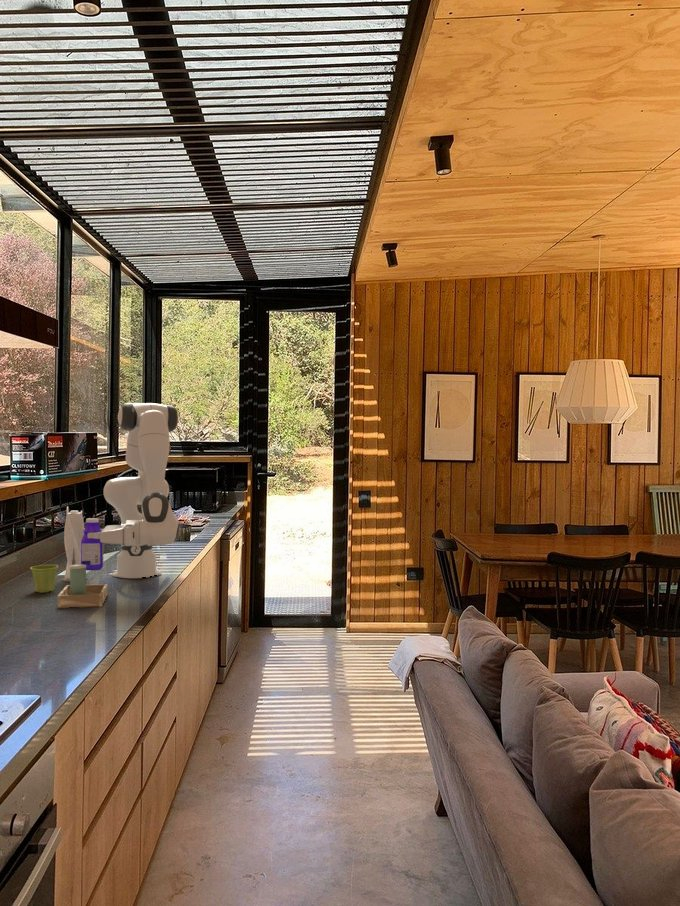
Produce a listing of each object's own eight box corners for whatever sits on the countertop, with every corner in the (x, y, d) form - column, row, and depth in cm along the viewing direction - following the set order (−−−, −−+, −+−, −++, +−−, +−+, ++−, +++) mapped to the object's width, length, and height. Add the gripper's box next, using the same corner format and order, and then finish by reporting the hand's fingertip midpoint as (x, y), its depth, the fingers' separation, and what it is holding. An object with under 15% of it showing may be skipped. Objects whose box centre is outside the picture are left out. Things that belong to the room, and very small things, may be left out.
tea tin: (70, 601, 259) (69, 565, 259) (87, 600, 260) (86, 564, 260) (70, 604, 254) (69, 567, 254) (87, 603, 255) (86, 565, 255)
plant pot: (28, 594, 272) (28, 569, 272) (31, 589, 281) (31, 565, 281) (57, 593, 274) (57, 568, 274) (59, 588, 284) (59, 564, 283)
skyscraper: (57, 580, 298) (57, 506, 297) (74, 577, 305) (73, 505, 304) (73, 582, 294) (73, 508, 293) (89, 579, 301) (89, 506, 301)
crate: (66, 596, 268) (66, 585, 268) (107, 595, 271) (107, 584, 271) (57, 608, 251) (57, 595, 251) (101, 606, 254) (101, 594, 254)
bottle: (104, 568, 268) (104, 517, 268) (101, 570, 262) (101, 518, 263) (82, 569, 267) (82, 518, 267) (79, 571, 261) (79, 519, 262)
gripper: (133, 520, 278) (92, 521, 275) (128, 527, 257) (85, 528, 255) (133, 538, 278) (92, 539, 275) (129, 546, 258) (85, 547, 255)
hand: (89, 534), depth 265 cm, fingers closed on bottle, 6 cm apart
